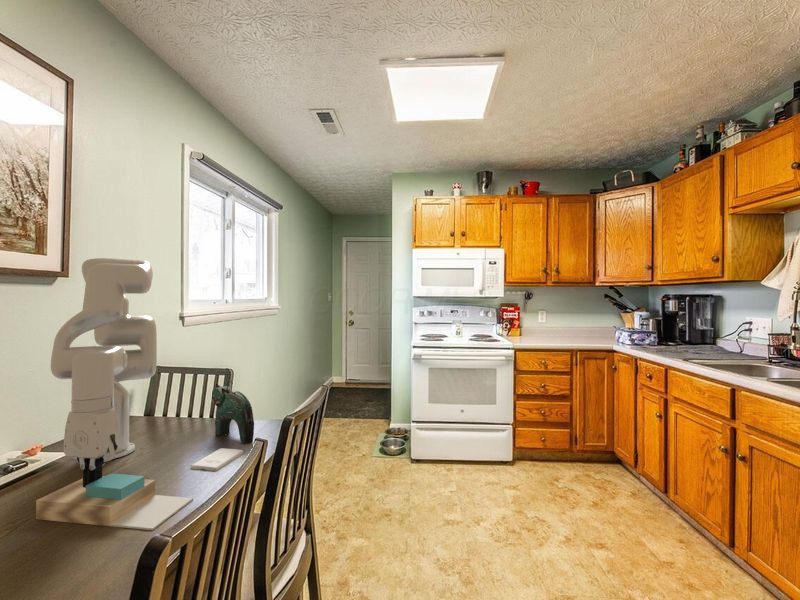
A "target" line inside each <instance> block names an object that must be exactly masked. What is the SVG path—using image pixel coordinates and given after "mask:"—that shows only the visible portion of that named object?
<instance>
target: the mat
mask: <svg viewBox="0 0 800 600" xmlns="http://www.w3.org/2000/svg"><path fill="white" fill-rule="evenodd" d="M193 500H194V498H193V497H183V496H174V495H173V496H172V495H159V494H155V495H154V496H153V497H151V498H150V499H148V500H147V501H145V502H144V503H142V504H140V505H139V506H137V507H136V508H134V509H133V510H131V511H130V512H128V513H126V514H125V515H123V516H122V517H120V518H119V519H117V520H116V521H114V522H112V523H111V524H110V526H109V527H114V528H125V529H126V528H127V529H136V530H147V531H155V529H157V528H158V527H159V526H161V525H162V524H163V523H164V522H166V521H167V520H168V519H170V518H171V517H172V516H174V515H175V514H176V513H177V512H179V511H181V510H182V509H183V508H184V507H186V506H187V505H188V504H190V503H191V502H192V501H193ZM190 501H191V502H190ZM189 502H190V503H189ZM185 505H186V506H185Z"/></svg>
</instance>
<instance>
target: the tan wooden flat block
mask: <svg viewBox="0 0 800 600" xmlns="http://www.w3.org/2000/svg"><path fill="white" fill-rule="evenodd" d="M105 476H106V475H102V477H105ZM154 495H156V480H155V479H147V478H146V479H145V478H144V487H143V488H141V489H140V490H138V491H136V492H134V493H133V494H131V495H129V496H127V497H126V498H124V499H122V500H115V499H105V498H95V497H86V488H84V487H83V477H82V478H81V479H79V480H77V481H74V482H72V483H70V484H68V485H66V486H63V487H62V488H59V489H57V490H55V491H53V492H51V493H49V494H47V495H44V496H43V497H40V498H38V499H36V500H35V501H36V502H35V504H36V505H35V520H41V521H43V520H45V521H52V522H64V523H72V522H73V524H81V525H82V524H85V525H93V526H104V527H105V526H106V527H111V526H110V524H111V523H112V522H114V521H116V520H117V519H119V518H120V517H122V516H123V515H125V514H126V513H128V512H130V511H131V510H133V509H134V508H136V507H137V506H139V505H140V504H142V503H144V502H145V501H147V500H148V499H150V498H151V497H153V496H154Z"/></svg>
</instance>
